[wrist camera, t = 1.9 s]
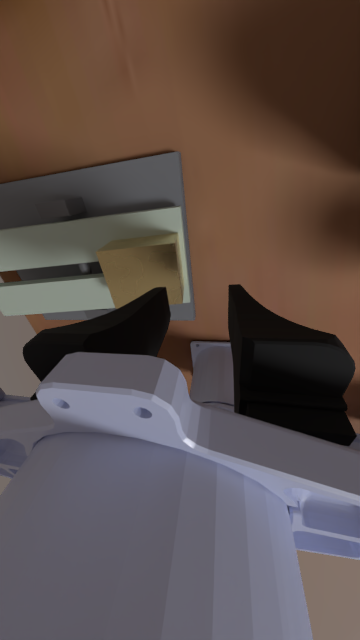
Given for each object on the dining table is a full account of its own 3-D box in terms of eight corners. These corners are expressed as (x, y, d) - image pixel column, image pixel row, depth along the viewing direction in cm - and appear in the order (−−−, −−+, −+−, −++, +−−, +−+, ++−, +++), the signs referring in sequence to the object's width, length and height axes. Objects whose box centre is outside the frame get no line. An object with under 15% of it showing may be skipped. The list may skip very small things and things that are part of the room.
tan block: (178, 230, 18) (174, 242, 14) (184, 282, 21) (182, 303, 17) (115, 238, 19) (95, 251, 15) (129, 287, 21) (115, 308, 18)
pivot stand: (180, 152, 16) (170, 147, 13) (195, 315, 25) (191, 333, 22) (-23, 189, 21) (-63, 191, 18) (50, 315, 30) (31, 330, 27)
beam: (181, 204, 18) (180, 206, 16) (190, 292, 23) (190, 302, 21) (-31, 232, 21) (-53, 237, 19) (18, 306, 25) (4, 316, 24)
